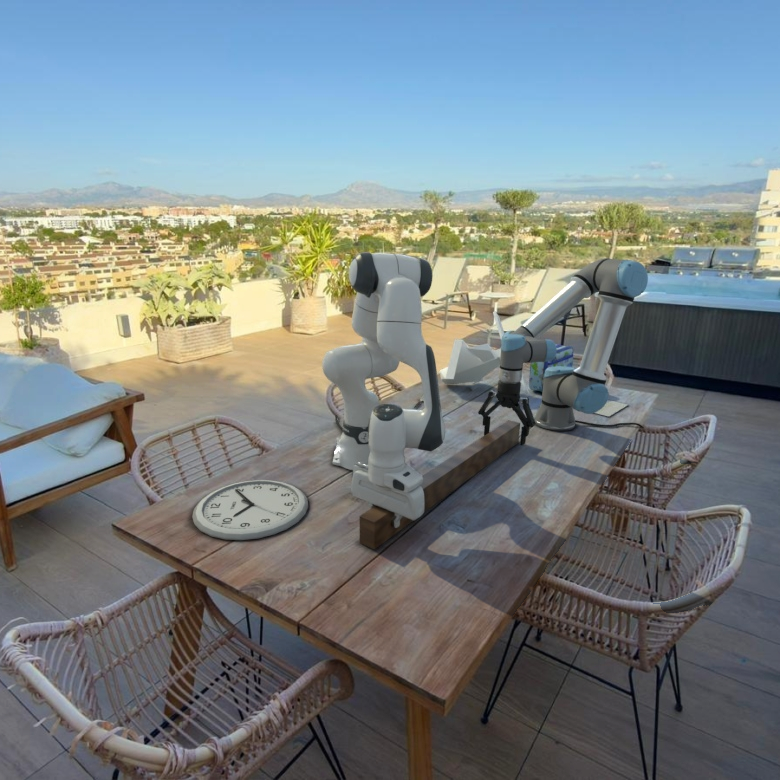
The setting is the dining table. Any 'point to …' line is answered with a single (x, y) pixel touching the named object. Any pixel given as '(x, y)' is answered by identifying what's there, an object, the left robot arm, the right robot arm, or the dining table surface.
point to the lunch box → (538, 368)
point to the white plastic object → (474, 362)
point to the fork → (419, 402)
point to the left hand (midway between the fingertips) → (385, 522)
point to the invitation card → (611, 408)
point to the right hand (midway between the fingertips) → (504, 439)
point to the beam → (442, 481)
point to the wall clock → (250, 510)
